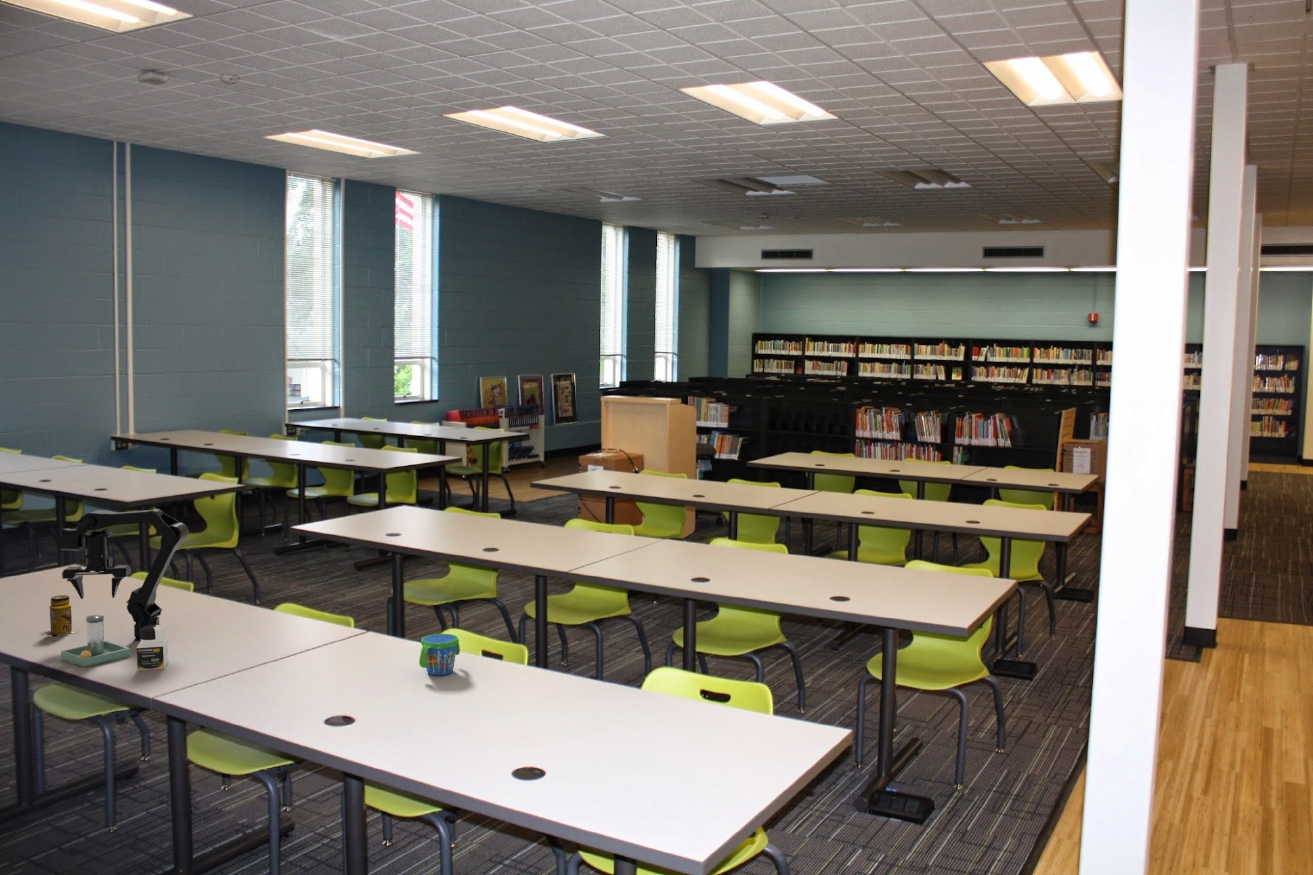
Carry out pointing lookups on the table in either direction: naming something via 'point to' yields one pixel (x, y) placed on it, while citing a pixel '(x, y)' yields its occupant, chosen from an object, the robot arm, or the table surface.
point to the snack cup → (439, 653)
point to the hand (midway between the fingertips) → (98, 598)
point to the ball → (86, 654)
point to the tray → (111, 654)
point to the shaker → (95, 634)
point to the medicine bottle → (152, 648)
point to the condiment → (60, 616)
